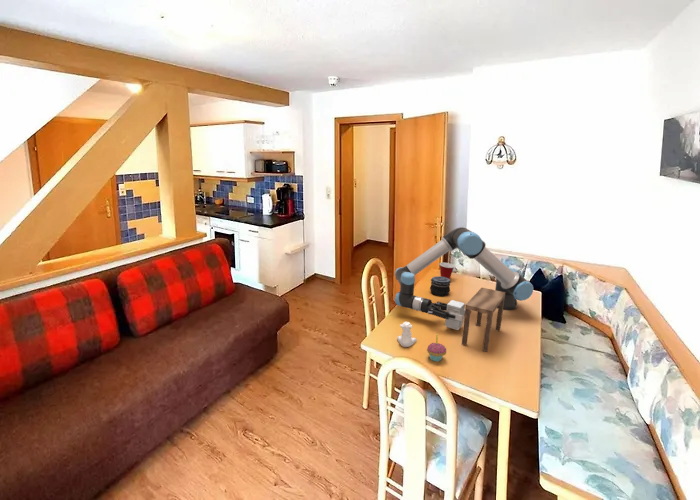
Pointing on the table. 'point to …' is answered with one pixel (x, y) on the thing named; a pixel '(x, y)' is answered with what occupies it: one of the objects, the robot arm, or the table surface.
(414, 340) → the seated beast figurine
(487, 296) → the walnut stool
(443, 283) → the container
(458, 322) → the supplement box
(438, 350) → the cupcake
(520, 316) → the table surface
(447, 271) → the plastic cup
